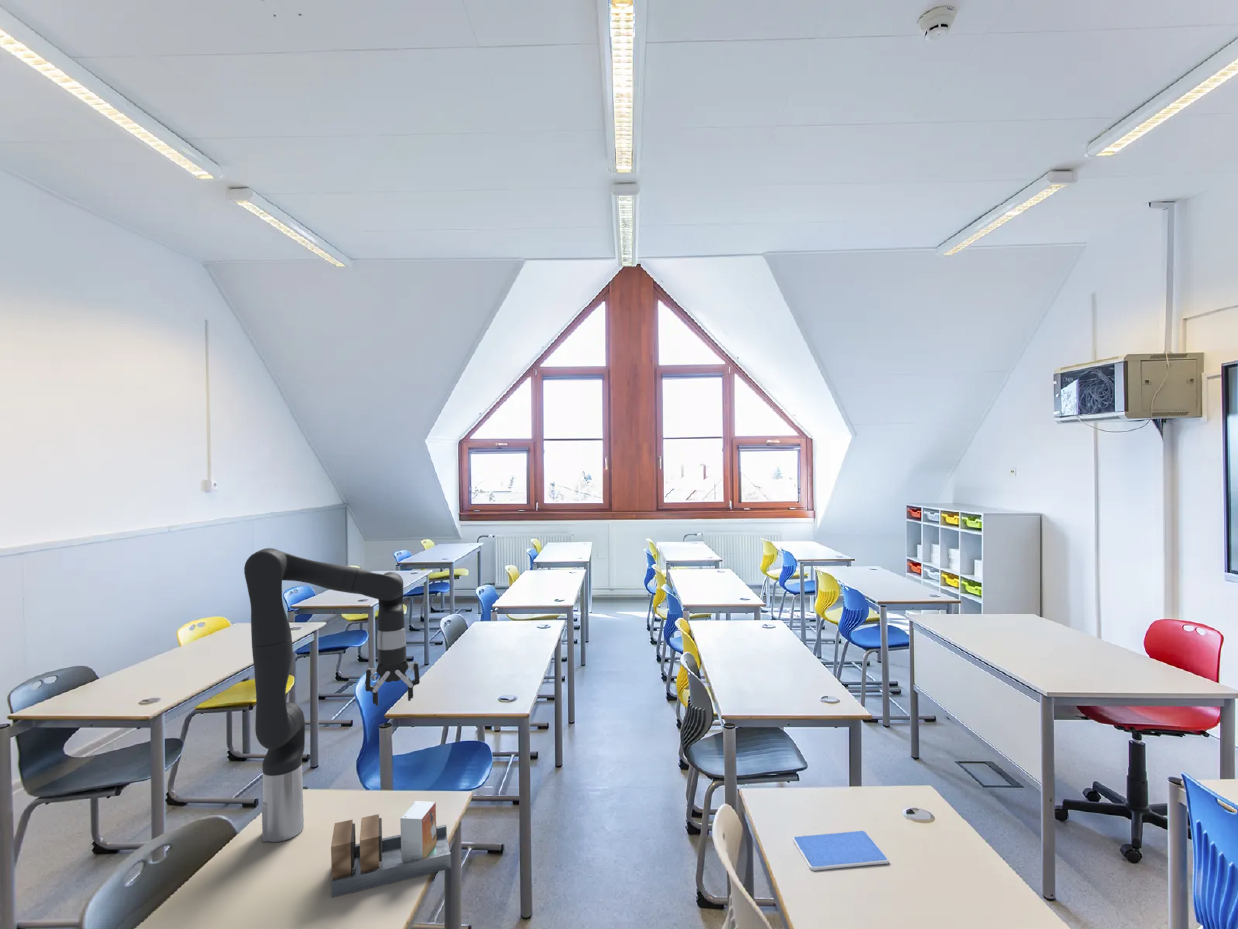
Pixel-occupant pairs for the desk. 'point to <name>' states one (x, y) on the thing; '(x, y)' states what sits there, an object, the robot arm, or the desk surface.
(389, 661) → the robot arm
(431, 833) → the small box
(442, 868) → the grey shallow tray
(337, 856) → the twin brown uprights
